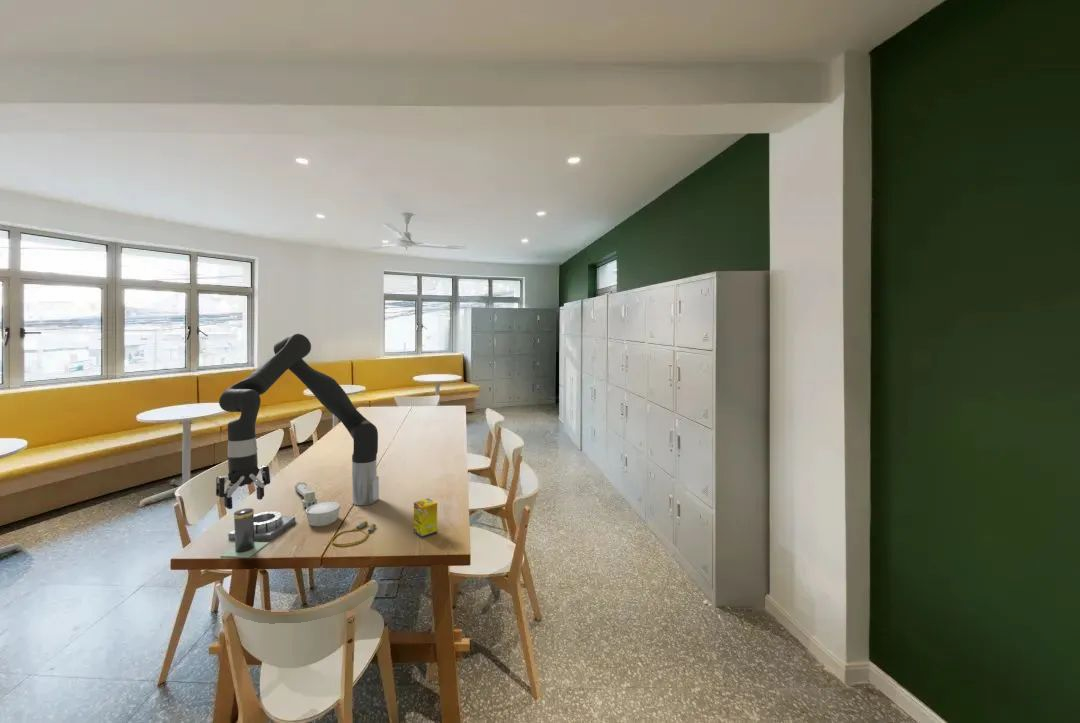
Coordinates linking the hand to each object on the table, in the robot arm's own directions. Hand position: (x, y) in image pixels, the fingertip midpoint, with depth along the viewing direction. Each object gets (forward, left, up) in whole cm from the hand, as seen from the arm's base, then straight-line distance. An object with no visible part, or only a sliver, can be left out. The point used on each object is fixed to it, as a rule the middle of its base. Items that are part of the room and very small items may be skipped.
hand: (245, 503), depth 134 cm
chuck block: (+4, -14, -15) cm, 21 cm away
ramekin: (-13, -22, -16) cm, 30 cm away
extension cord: (-29, -12, -16) cm, 35 cm away
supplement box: (-53, -15, -15) cm, 57 cm away
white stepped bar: (+6, -42, -16) cm, 45 cm away
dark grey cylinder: (+1, 0, -15) cm, 15 cm away
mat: (0, 0, -15) cm, 15 cm away
